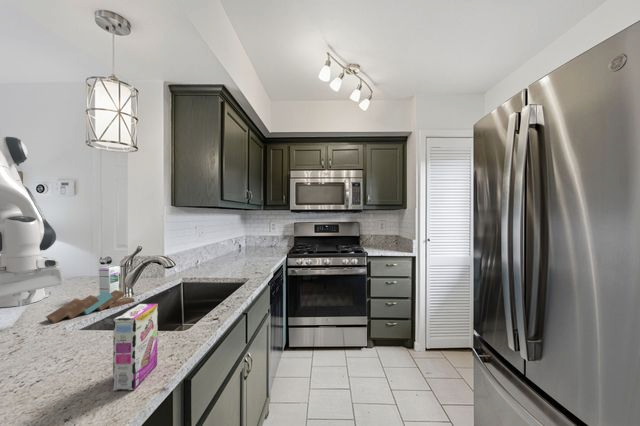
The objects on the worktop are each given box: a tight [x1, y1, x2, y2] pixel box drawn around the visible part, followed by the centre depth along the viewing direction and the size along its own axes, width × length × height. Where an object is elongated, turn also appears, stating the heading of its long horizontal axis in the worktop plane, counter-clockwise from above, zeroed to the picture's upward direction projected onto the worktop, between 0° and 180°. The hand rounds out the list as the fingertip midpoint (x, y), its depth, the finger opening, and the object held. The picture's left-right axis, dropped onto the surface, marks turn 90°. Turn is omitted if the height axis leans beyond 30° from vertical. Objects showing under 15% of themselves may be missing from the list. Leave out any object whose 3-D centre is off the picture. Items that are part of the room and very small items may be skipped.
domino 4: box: [94, 290, 125, 312], centre depth 121 cm, size 2×5×10 cm
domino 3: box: [80, 292, 112, 315], centre depth 117 cm, size 2×5×10 cm
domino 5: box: [105, 296, 136, 310], centre depth 124 cm, size 2×5×10 cm
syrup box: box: [98, 265, 122, 295], centre depth 133 cm, size 6×6×14 cm
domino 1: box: [45, 297, 85, 324], centre depth 108 cm, size 2×5×10 cm
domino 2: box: [65, 294, 99, 320], centre depth 112 cm, size 2×5×10 cm
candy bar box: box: [112, 303, 159, 392], centre depth 70 cm, size 11×5×16 cm, turn 5°
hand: (24, 304), depth 99 cm, fingers closed
